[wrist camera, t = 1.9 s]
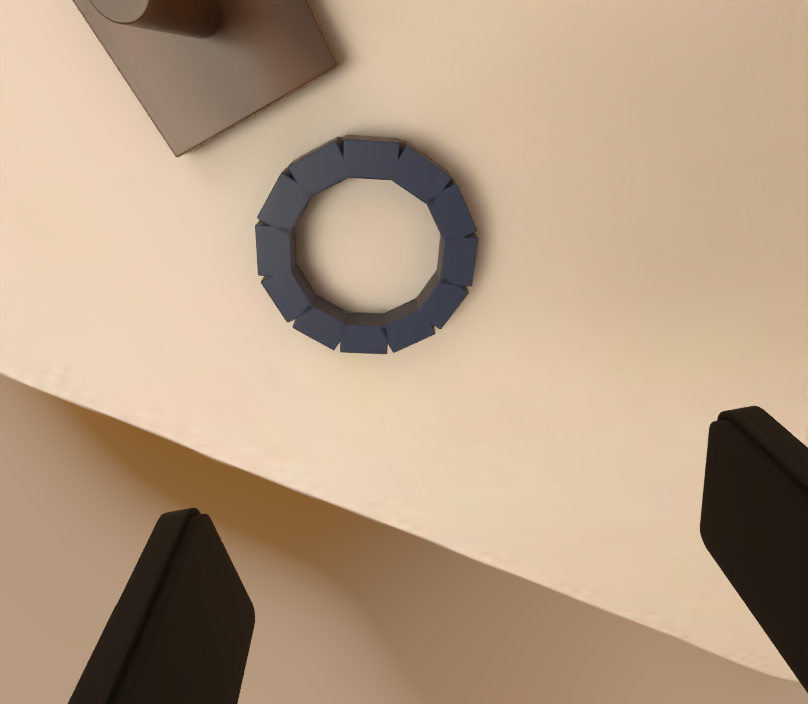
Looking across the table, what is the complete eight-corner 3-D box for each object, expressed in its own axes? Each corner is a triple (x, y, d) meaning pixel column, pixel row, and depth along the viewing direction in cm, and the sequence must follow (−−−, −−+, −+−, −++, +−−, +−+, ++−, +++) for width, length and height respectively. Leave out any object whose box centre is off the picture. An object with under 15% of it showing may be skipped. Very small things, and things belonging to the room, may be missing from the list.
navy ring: (416, 93, 26) (419, 94, 25) (501, 289, 31) (507, 301, 30) (220, 200, 28) (211, 207, 27) (329, 368, 33) (326, 383, 32)
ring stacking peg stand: (232, -158, 22) (140, -302, 13) (340, 66, 26) (321, 63, 17) (59, -41, 23) (-121, -104, 15) (186, 153, 27) (99, 190, 19)
